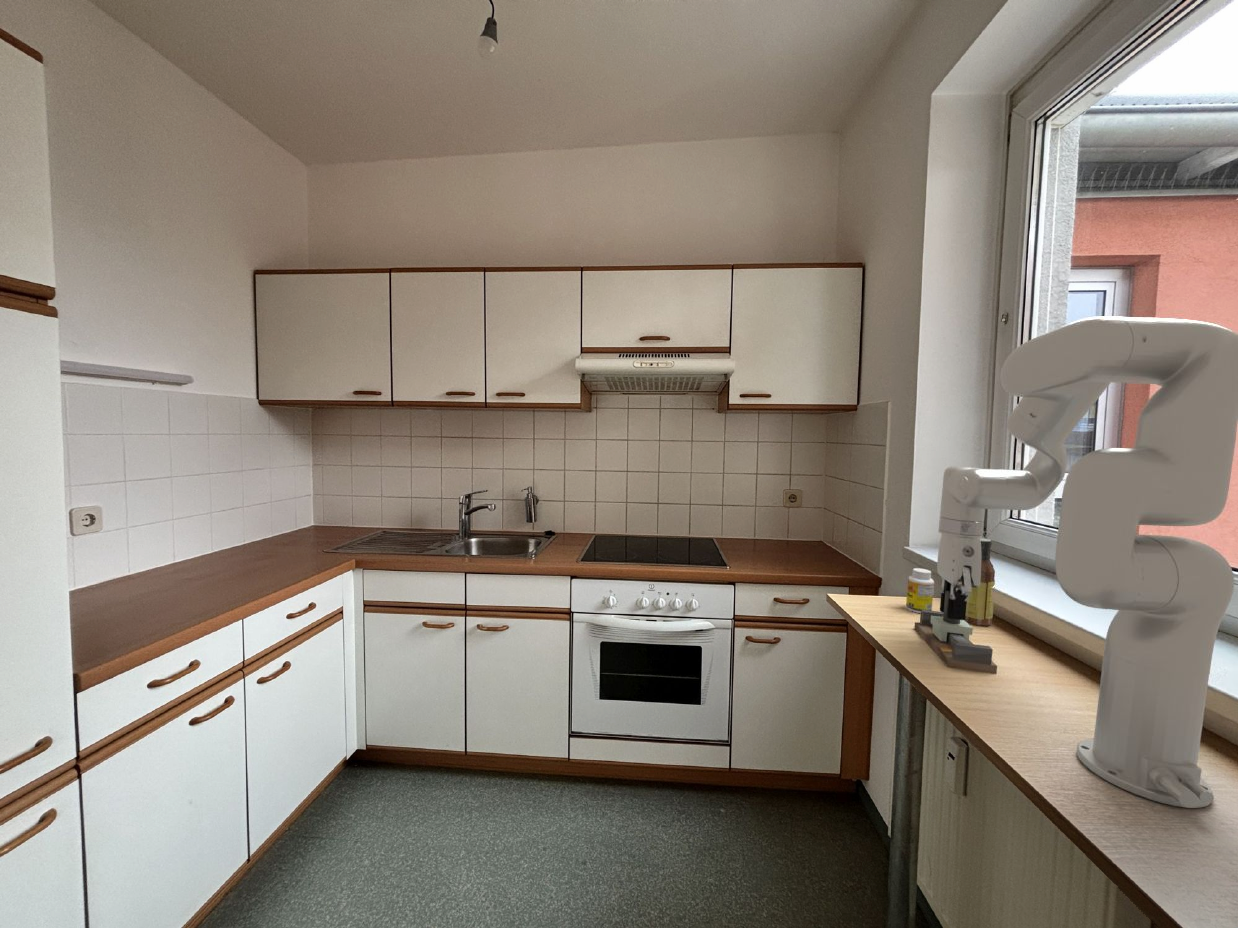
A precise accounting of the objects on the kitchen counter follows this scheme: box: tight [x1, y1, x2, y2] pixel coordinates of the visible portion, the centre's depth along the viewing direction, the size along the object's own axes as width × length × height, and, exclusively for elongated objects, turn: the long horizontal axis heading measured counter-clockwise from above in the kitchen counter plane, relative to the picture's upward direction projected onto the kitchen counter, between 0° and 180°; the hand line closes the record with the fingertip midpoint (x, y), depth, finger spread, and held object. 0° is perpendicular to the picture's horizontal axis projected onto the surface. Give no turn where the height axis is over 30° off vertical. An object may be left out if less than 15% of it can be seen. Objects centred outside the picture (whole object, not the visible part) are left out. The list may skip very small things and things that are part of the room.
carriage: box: [930, 591, 974, 642], centre depth 109 cm, size 5×6×10 cm
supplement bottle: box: [905, 567, 935, 614], centre depth 131 cm, size 6×6×10 cm
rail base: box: [914, 610, 998, 674], centre depth 108 cm, size 20×8×4 cm, turn 167°
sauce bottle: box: [964, 537, 996, 627], centre depth 125 cm, size 6×6×20 cm
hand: (952, 614), depth 109 cm, fingers closed on carriage, 3 cm apart
